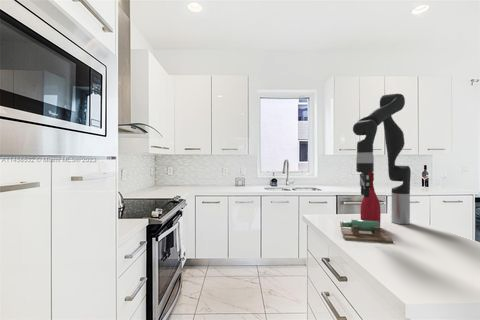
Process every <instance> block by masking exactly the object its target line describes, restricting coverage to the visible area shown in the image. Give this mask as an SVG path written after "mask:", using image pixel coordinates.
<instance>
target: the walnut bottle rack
mask: <svg viewBox="0 0 480 320" xmlns="http://www.w3.org/2000/svg"><path fill="white" fill-rule="evenodd" d="M340 231H341V234H342V237H343V239H344V240H345V241H352V242H353V241H354V242H355V241H356V242H367V243H368V242H370V243H381V244H394V240H393V239H392V238H391V236H390V235H388V234H387V232H386V231H384V230H381V226H380V227H374V232H371V231H359V226H353V230H351V227H343V228H341V227H340Z"/></svg>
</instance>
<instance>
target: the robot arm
mask: <svg viewBox="0 0 480 320" xmlns="http://www.w3.org/2000/svg"><path fill="white" fill-rule="evenodd" d="M405 104H406V98H405V95H403V94H401V93H392V94H391V93H390V94H384V95H382V96H380V98H379V108H376V109H375V110H373V111H371V112H370V113H369V114H368V115H366V116H363V117H362V118H360V119H359V120H357V121H356V122H355V123H353V125H352V132H353V133H354V134H355V135H356V136H365V138H363V139H361V140H359V141H357V142H356V160H355V161H356V167H355V168H356V173H359V186H360V195H361V196H363V197H369V189H370V188H371V178H370V177H371V176H370V175H369V172H373V173H374V172H375V171H374V167H375V163H374V162H375V161H374V160H375V159H374V142H375V137H376V135H377V132H378V126H379V125H381V124H382V123H383V129H384V141H385V147H386V154H387V171H388V178H389V180H390V181H392V182H402V184H400V185H399V186H394V187H392V188H391V216H390V217H391V221H390V222H391V223H393V224H397V225H410V224H411V223H410V222H411V176H412V174H411V173H412V171H411V168H410V166H409V165H396V160H397V159H398V157H399V156H400V154H401V152H402V150H403V149H404V147H405V136H404V135H405V134H404V131H403V130H402V128H401V127H400V126H399V125H398V124H397V123H396V121H395V120H394V118H393V115H394V114H396V113H398V112H400V111H402V110H403V109H404V108H405V107H404V106H405Z"/></svg>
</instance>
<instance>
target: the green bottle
mask: <svg viewBox="0 0 480 320" xmlns="http://www.w3.org/2000/svg"><path fill="white" fill-rule="evenodd" d="M339 225H340V227H339V228H340V229H341V228H351V230H353V226H359V231H371V232H374V227H380V228H381V222H380V223H379V221H366V220H361V219H351V220H350V221H349V222H348V221H342V220H341V221H340V222H339Z"/></svg>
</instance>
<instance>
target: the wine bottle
mask: <svg viewBox="0 0 480 320" xmlns="http://www.w3.org/2000/svg"><path fill="white" fill-rule="evenodd" d="M369 175H370V176H371V177H370V178H371V188H370V189H369V197H364V196H363V197H362V199H361V201H360V220H366V221H379V223H380V224H381V217H382V216H381V215H382V214H381V213H382V211H381V203H380V201H379V198H378V195H377V194H376V191H375V187H374V180H375V174H374V172H369Z"/></svg>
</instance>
